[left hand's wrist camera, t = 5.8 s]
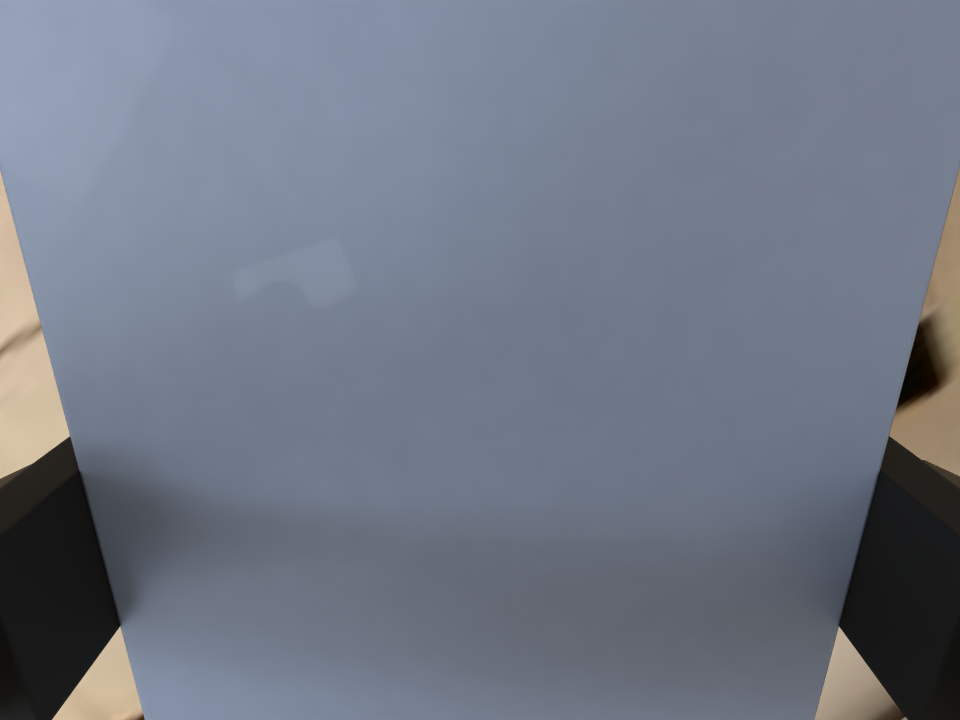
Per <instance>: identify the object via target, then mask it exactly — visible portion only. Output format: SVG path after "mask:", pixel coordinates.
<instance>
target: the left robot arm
mask: <svg viewBox="0 0 960 720" xmlns="http://www.w3.org/2000/svg"><path fill="white" fill-rule="evenodd" d="M119 627H120V623H119V619H118V615H117V611H116V608H115V604H114V600H113V596H112V592H111V589H110V585H109V581H108V577H107V573H106V570H105V566H104V562H103V558H102V554H101V551H100V547H99V543H98V539H97V535H96V532H95V528H94V524H93V520H92V516H91V513H90V509H89V505H88V501H87V497H86V494H85V490H84V486H83V482H82V478H81V475H80V471H79V467H78V463H77V459H76V456H75V452H74V448H73V444H72V440H71V437H68V438H67V439H66V440H64V441H63V442H62V443H60V444H59V445H58V446H56V447H55V448H53V449H52V450H51V451H49V452H48V453H47V454H45V455H44V456H43V457H41V458H40V459H39V460H37V461H36V462H35V463H33V464H31V465H29V466H27V467H25V468H22V469H20V470H18V471H16V472H14V473H12V474H10V475H7V476H5V477H3V478H1V479H0V720H52V719H53V717H54V716H55V715H56V713H57V712H58V711H59V709H60V708H61V706H62V705H63V704H64V702H65V701H66V700H67V698H68V697H69V696H70V694H71V693H72V691H73V690H74V689H75V687H76V686H77V685H78V683H79V682H80V680H81V679H82V678H83V676H84V675H85V674H86V672H87V671H88V669H89V668H90V667H91V665H92V664H93V663H94V661H95V660H96V659H97V657H98V656H99V654H100V653H101V652H102V650H103V649H104V648H105V646H106V645H107V643H108V642H109V641H110V639H111V638H112V637H113V635H114V634H115V632H116V631H117V630H118V628H119ZM839 627H840V628H841V629H842V631H843V632H844V633H845V635H846V636H847V638H848V639H849V640H850V642H851V643H852V644H853V646H854V647H855V648H856V650H857V651H858V653H859V654H860V655H861V657H862V658H863V659H864V661H865V662H866V664H867V665H868V666H869V668H870V669H871V670H872V672H873V673H874V675H875V676H876V677H877V679H878V680H879V681H880V683H881V684H882V685H883V687H884V688H885V690H886V691H887V692H888V694H889V695H890V696H891V698H892V699H893V701H894V702H895V703H896V705H897V706H898V707H899V709H900V710H901V712H902V713H903V714H904V716H905V717H906V718H907V720H960V476H957V475H955V474H953V473H951V472H949V471H947V470H945V469H942V468H940V467H938V466H936V465H934V464H932V463H929V462H927V461H925V460H921V459H919V458H918V457H917V456H915V455H914V454H913V453H911V452H910V451H909V450H907V449H906V448H904V447H903V446H902V445H900V444H899V443H898V442H896V441H895V440H894V439H892V438H891V437H890V436H889V437H888V441H887V445H886V449H885V453H884V456H883V460H882V464H881V468H880V472H879V475H878V479H877V483H876V487H875V491H874V494H873V498H872V502H871V506H870V510H869V513H868V517H867V521H866V525H865V529H864V532H863V536H862V540H861V544H860V548H859V551H858V555H857V559H856V563H855V567H854V570H853V574H852V578H851V582H850V586H849V589H848V593H847V597H846V601H845V605H844V608H843V612H842V616H841V620H840V624H839Z"/></svg>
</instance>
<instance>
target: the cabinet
mask: <svg viewBox="0 0 960 720" xmlns="http://www.w3.org/2000/svg"><path fill="white" fill-rule="evenodd" d="M959 168H960V0H0V171H1V175H2V179H3V182H4V186H5V190H6V194H7V197H8V201H9V205H10V209H11V213H12V216H13V220H14V224H15V228H16V232H17V235H18V239H19V243H20V247H21V251H22V254H23V258H24V262H25V266H26V270H27V273H28V277H29V281H30V285H31V289H32V292H33V296H34V300H35V304H36V308H37V311H38V315H39V319H40V323H41V327H42V330H43V334H44V338H45V342H46V346H47V349H48V353H49V357H50V361H51V365H52V368H53V372H54V376H55V380H56V384H57V387H58V391H59V395H60V399H61V403H62V406H63V410H64V414H65V418H66V422H67V425H68V429H69V433H70V437H71V440H72V444H73V448H74V452H75V456H76V459H77V463H78V467H79V471H80V475H81V478H82V482H83V486H84V490H85V494H86V497H87V501H88V505H89V509H90V513H91V516H92V520H93V524H94V528H95V532H96V535H97V539H98V543H99V547H100V551H101V554H102V558H103V562H104V566H105V570H106V573H107V577H108V581H109V585H110V589H111V592H112V596H113V600H114V604H115V608H116V611H117V615H118V619H119V623H120V627H121V630H122V634H123V638H124V642H125V646H126V649H127V653H128V657H129V661H130V665H131V668H132V672H133V676H134V680H135V683H136V687H137V691H138V695H139V699H140V702H141V706H142V710H143V714H144V718H145V720H814V719H815V715H816V711H817V707H818V704H819V700H820V696H821V692H822V688H823V685H824V681H825V677H826V673H827V669H828V665H829V662H830V658H831V654H832V650H833V646H834V643H835V639H836V635H837V631H838V627H839V624H840V620H841V616H842V612H843V608H844V605H845V601H846V597H847V593H848V589H849V586H850V582H851V578H852V574H853V570H854V567H855V563H856V559H857V555H858V551H859V548H860V544H861V540H862V536H863V532H864V529H865V525H866V521H867V517H868V513H869V510H870V506H871V502H872V498H873V494H874V491H875V487H876V483H877V479H878V475H879V472H880V468H881V464H882V460H883V456H884V453H885V449H886V445H887V441H888V437H889V434H890V430H891V426H892V422H893V418H894V415H895V411H896V407H897V403H898V399H899V396H900V392H901V388H902V384H903V380H904V377H905V373H906V369H907V365H908V361H909V358H910V354H911V350H912V346H913V342H914V339H915V335H916V331H917V327H918V323H919V320H920V316H921V312H922V308H923V304H924V301H925V297H926V293H927V289H928V285H929V282H930V278H931V274H932V270H933V266H934V263H935V259H936V255H937V251H938V247H939V244H940V240H941V236H942V232H943V228H944V225H945V221H946V217H947V213H948V209H949V206H950V202H951V198H952V194H953V190H954V187H955V183H956V179H957V175H958V171H959Z"/></svg>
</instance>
